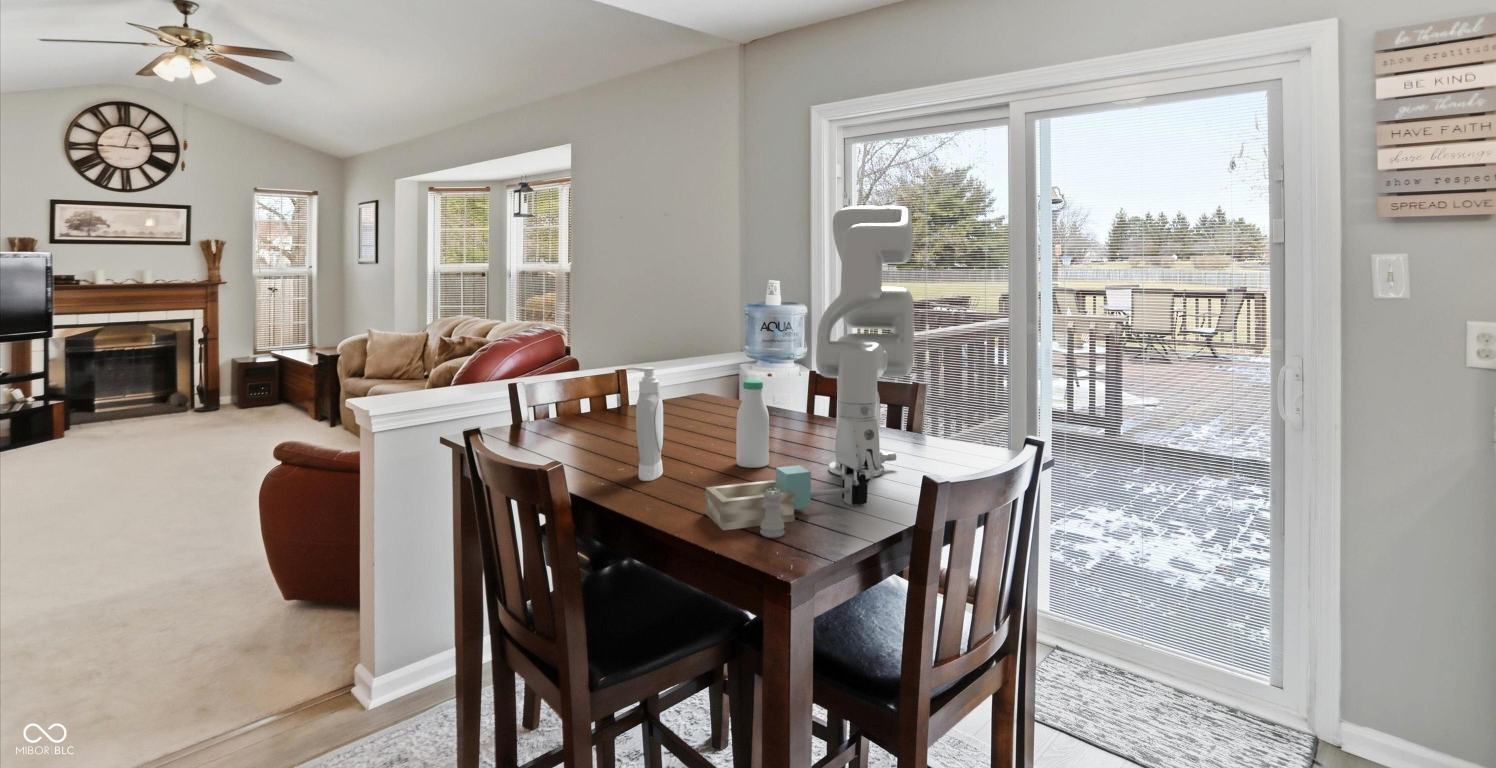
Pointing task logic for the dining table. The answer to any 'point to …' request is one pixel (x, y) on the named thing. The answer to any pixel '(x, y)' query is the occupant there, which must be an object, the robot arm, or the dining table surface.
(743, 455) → the milk bottle
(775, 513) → the rook chess piece
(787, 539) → the dining table surface
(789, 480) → the cube dumbbell
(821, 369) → the robot arm
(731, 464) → the dining table surface
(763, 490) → the beige wooden open box
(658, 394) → the soap bottle
